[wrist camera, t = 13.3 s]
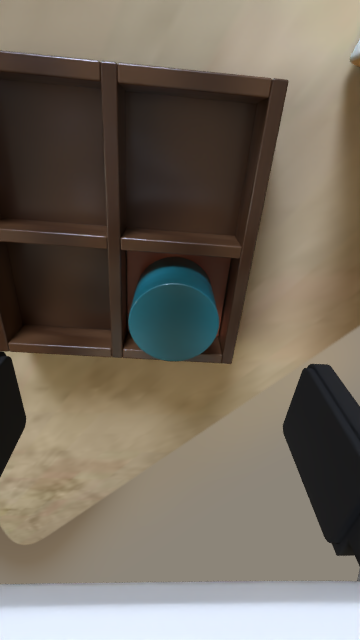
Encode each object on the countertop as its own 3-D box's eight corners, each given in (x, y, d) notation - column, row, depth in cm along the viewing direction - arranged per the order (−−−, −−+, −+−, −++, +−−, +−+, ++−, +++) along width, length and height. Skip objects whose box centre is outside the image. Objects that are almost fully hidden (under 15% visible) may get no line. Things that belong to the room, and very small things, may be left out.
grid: (18, 327, 19) (-2, 351, 17) (-40, 58, 13) (-84, 41, 10) (225, 339, 20) (231, 364, 18) (270, 89, 13) (289, 79, 11)
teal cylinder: (136, 322, 18) (128, 359, 15) (137, 253, 16) (127, 280, 13) (206, 326, 18) (213, 364, 15) (216, 259, 16) (225, 286, 13)
